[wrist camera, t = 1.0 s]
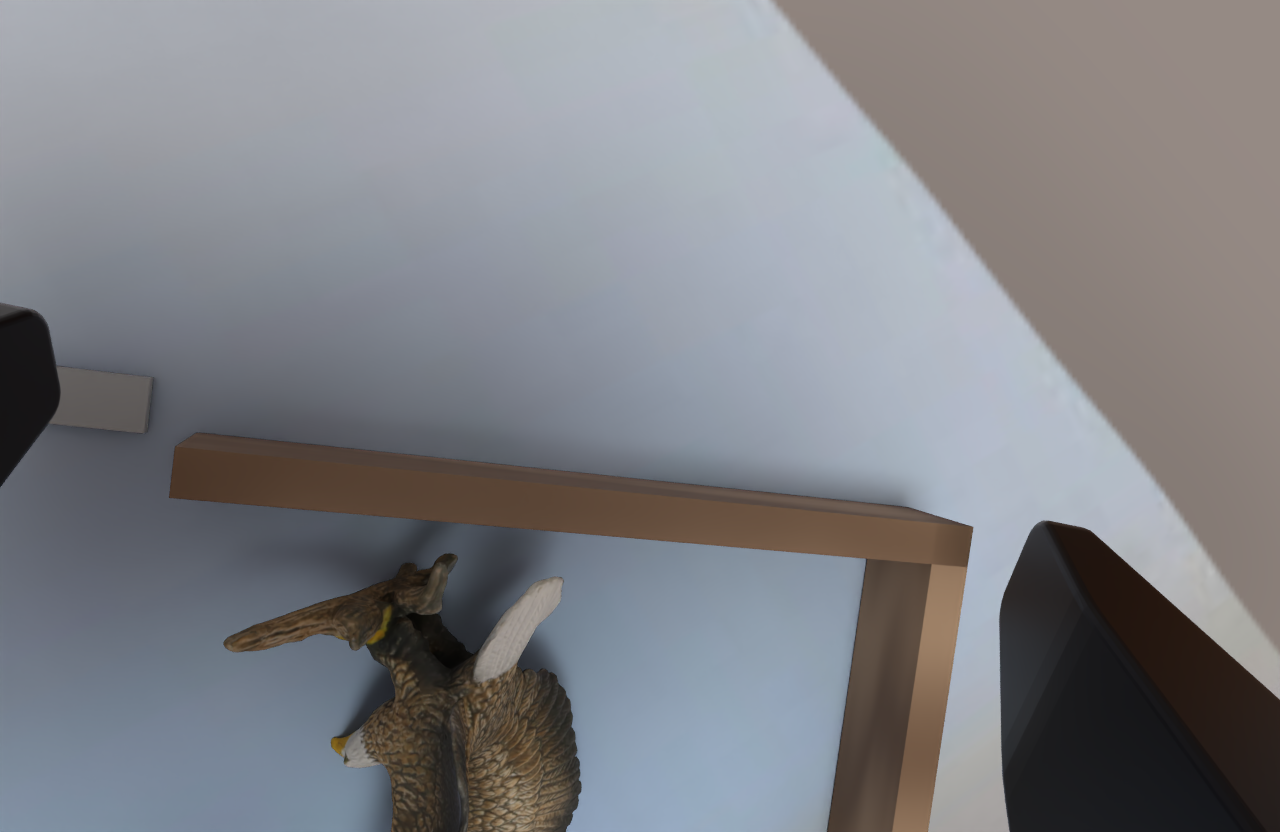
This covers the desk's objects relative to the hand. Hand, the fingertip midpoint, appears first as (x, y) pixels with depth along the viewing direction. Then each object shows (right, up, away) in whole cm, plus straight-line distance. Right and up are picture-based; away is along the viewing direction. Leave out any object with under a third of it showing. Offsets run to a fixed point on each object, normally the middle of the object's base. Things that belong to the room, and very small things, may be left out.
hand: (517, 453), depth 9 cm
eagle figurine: (-4, -7, +16) cm, 18 cm away
